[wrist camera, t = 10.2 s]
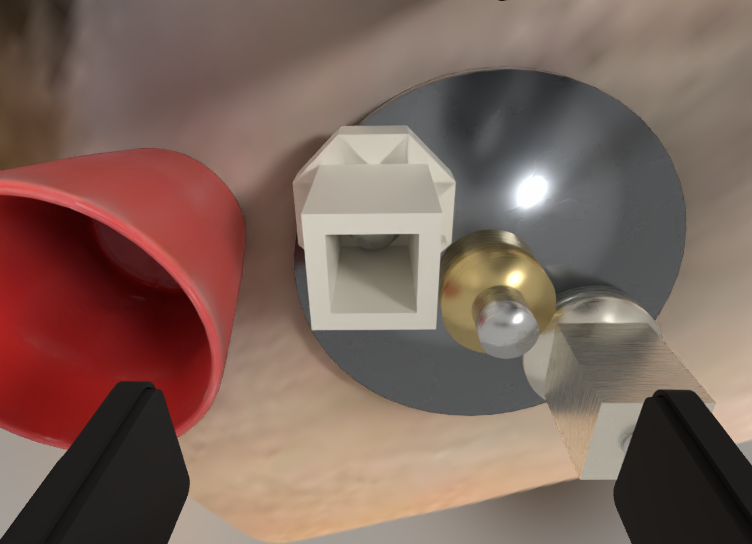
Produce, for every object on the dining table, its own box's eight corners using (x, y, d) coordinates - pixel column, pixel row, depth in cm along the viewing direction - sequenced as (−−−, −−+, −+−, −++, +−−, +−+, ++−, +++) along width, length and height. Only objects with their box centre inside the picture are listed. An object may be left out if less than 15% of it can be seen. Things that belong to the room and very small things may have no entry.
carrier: (727, 63, 20) (927, 95, 13) (623, 400, 30) (705, 533, 22) (278, 69, 21) (221, 105, 13) (312, 402, 30) (290, 533, 22)
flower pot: (114, 327, 27) (-5, 474, 19) (13, 132, 22) (-217, 212, 14) (297, 301, 26) (259, 443, 18) (237, 92, 21) (143, 150, 13)
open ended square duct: (453, 124, 21) (485, 174, 14) (444, 266, 24) (467, 356, 18) (293, 126, 21) (257, 177, 14) (306, 267, 24) (281, 357, 18)
